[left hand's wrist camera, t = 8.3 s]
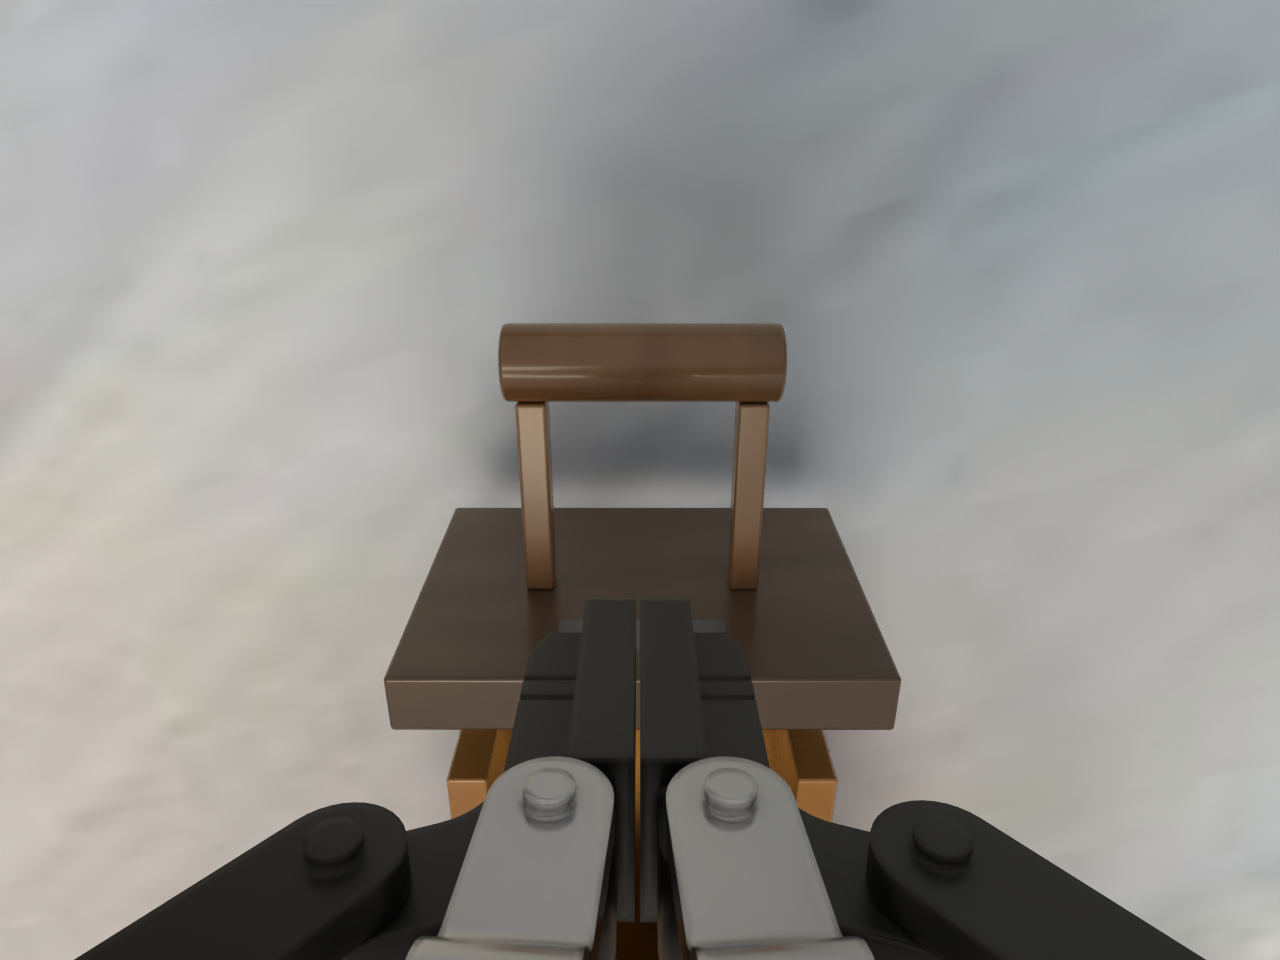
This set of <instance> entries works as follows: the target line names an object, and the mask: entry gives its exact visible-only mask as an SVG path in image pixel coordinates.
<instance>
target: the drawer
mask: <svg viewBox="0 0 1280 960" xmlns="http://www.w3.org/2000/svg"><path fill="white" fill-rule="evenodd" d="M498 367H499V381H500V388H501V392H502V395H503V398H504V400H506V401H508V402H517V404H516V407H515V410H516V426H517V442H518V458H519V474H520V490H521V506H522V508H457V509H456V510H455V512H454V514H453V517H452V519H451V522H450V524H449V526H448V529H447V531H446V533H445V536H444V538H443V540H442V543H441V545H440V548H439V550H438V552H437V555H436V557H435V559H434V562H433V564H432V566H431V569H430V571H429V574H428V576H427V578H426V581H425V583H424V585H423V588H422V590H421V593H420V595H419V597H418V600H417V602H416V604H415V607H414V609H413V611H412V614H411V616H410V619H409V621H408V623H407V626H406V628H405V630H404V633H403V635H402V637H401V640H400V642H399V645H398V647H397V649H396V652H395V654H394V656H393V659H392V661H391V663H390V666H389V668H388V671H387V673H386V675H385V678H384V685H385V691H386V698H387V705H388V711H389V718H390V725H391V728H392V729H399V730H460V734H459V737H458V741H457V744H456V748H455V752H454V755H453V759H452V763H451V766H450V770H449V774H448V777H447V787H448V795H449V803H450V812H451V819H453V818H456V817H458V816H461V815H463V814H465V813H467V812H468V811H470V810H472V809H474V808H475V807H477V806H478V805H479V804H481V803H482V802H483V801H485V798H486V795H487V793H488V791H489V789H490V787H491V785H492V784H493V783H494V781H495V780H496V779H497V778H498V777H499V776H500V775H502V774H503V772H504V768H505V763H506V758H507V754H508V749H509V745H510V740H511V735H512V731H513V726H514V721H515V717H516V712H517V707H518V703H519V700H520V694H521V689H522V684H523V680H524V675H525V670H526V666H527V661H528V657H529V652H530V651H531V650H532V649H533V648H534V647H535V646H536V645H537V644H538V643H539V642H540V641H541V640H542V639H543V638H544V637H545V636H546V635H547V633H582V625H583V616H584V608H585V600H586V598H636V770H635V908H634V922H617V935H616V960H659V954H658V927H657V922H640V598H690V603H691V612H692V621H693V630H694V633H728V634H729V635H730V636H731V637H732V638H733V639H734V640H735V642H736V643H737V644H738V645H739V646H740V647H741V648H742V649H743V650H744V651H745V652H746V655H747V660H748V664H749V669H750V674H751V681H752V684H753V689H754V693H755V700H756V703H757V708H758V713H759V718H760V722H761V727H762V732H763V737H764V742H765V746H766V751H767V756H768V761H769V766H770V769H771V770H773V771H774V772H776V773H777V774H778V775H780V776H781V777H782V778H783V779H784V780H785V781H786V783H787V784H788V785H789V787H790V789H791V791H792V793H793V795H794V798H795V801H796V804H797V807H798V808H800V809H801V810H803V811H805V812H807V813H809V814H810V815H813V816H815V817H817V818H820V819H822V820H825V821H828V822H832V821H833V812H834V804H835V796H836V788H837V777H836V773H835V770H834V766H833V763H832V759H831V755H830V752H829V748H828V745H827V741H826V738H825V734H824V730H891V729H893V728H894V723H895V717H896V710H897V704H898V697H899V691H900V684H901V678H900V676H899V673H898V671H897V669H896V666H895V664H894V662H893V659H892V657H891V655H890V652H889V650H888V648H887V645H886V643H885V641H884V638H883V636H882V634H881V632H880V629H879V627H878V625H877V622H876V620H875V618H874V615H873V613H872V611H871V608H870V606H869V604H868V601H867V599H866V597H865V594H864V592H863V590H862V587H861V585H860V583H859V580H858V578H857V576H856V573H855V571H854V569H853V566H852V564H851V562H850V559H849V557H848V555H847V552H846V550H845V548H844V546H843V543H842V541H841V539H840V536H839V534H838V532H837V529H836V527H835V525H834V522H833V520H832V518H831V515H830V513H829V511H828V509H826V508H763V501H764V486H765V471H766V456H767V441H768V426H769V410H770V406H769V404H768V402H777V401H780V400H781V398H782V396H783V393H784V389H785V382H786V371H787V345H786V336H785V332H784V329H783V326H782V325H780V324H550V323H507V324H505V325H503V326H502V329H501V332H500V337H499V349H498ZM549 402H736V411H735V432H734V452H733V473H732V493H731V508H554V506H553V484H552V462H551V440H550V418H549Z"/></svg>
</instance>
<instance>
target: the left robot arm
mask: <svg viewBox="0 0 1280 960" xmlns="http://www.w3.org/2000/svg"><path fill="white" fill-rule="evenodd" d="M635 770H636V598H586V600H585V608H584V616H583V625H582V633H547V635H546V636H545V637H544V638H543V639H542V640H541V641H540V642H539V643H538V644H537V645H536V646H535V647H534V648H533V649H532V650H531V651H530V652H529V657H528V661H527V666H526V670H525V675H524V680H523V684H522V689H521V694H520V700H519V703H518V707H517V712H516V717H515V721H514V726H513V731H512V735H511V740H510V745H509V749H508V754H507V758H506V763H505V768H504V772H503V774H502V775H500V776H499V777H498V778H497V779H496V780H495V781H494V783H493V784H492V785H491V787H490V789H489V791H488V793H487V795H486V798H485V801H483V802H482V803H481V804H479V805H478V806H477V807H475V808H474V809H472V810H470V811H468V812H467V813H465V814H463V815H461V816H458V817H456V818H453V819H451V820H448V821H444V822H441V823H437V824H433V825H429V826H425V827H421V828H417V829H413V830H409V831H406V830H405V827H404V825H403V823H402V822H401V820H400V819H399V817H397V816H396V815H395V814H394V813H393V812H391V811H390V810H388V809H386V808H384V807H381V806H378V805H375V804H369V803H357V802H353V803H342V804H336V805H331V806H328V807H324V808H321V809H318V810H316V811H313V812H311V813H309V814H307V815H305V816H303V817H301V818H299V819H298V820H296V821H294V822H293V823H291V824H289V825H288V826H286V827H285V828H283V829H281V830H280V831H278V832H277V833H275V834H274V835H272V836H270V837H269V838H267V839H266V840H264V841H262V842H261V843H259V844H258V845H256V846H254V847H253V848H251V849H250V850H248V851H246V852H245V853H243V854H242V855H240V856H239V857H237V858H235V859H234V860H232V861H231V862H229V863H227V864H226V865H224V866H223V867H221V868H219V869H218V870H216V871H215V872H213V873H211V874H210V875H208V876H207V877H205V878H204V879H202V880H200V881H199V882H197V883H196V884H194V885H192V886H191V887H189V888H188V889H186V890H184V891H183V892H181V893H180V894H178V895H176V896H175V897H173V898H172V899H170V900H169V901H167V902H165V903H164V904H162V905H161V906H159V907H157V908H156V909H154V910H153V911H151V912H149V913H148V914H146V915H145V916H143V917H141V918H140V919H138V920H137V921H135V922H134V923H132V924H130V925H129V926H127V927H126V928H124V929H122V930H121V931H119V932H118V933H116V934H114V935H113V936H111V937H110V938H108V939H106V940H105V941H103V942H102V943H100V944H99V945H97V946H95V947H94V948H92V949H91V950H89V951H87V952H86V953H84V954H83V955H81V956H79V957H78V958H76V959H75V960H616V935H617V922H634V908H635ZM640 922H657V927H658V954H659V960H1205V959H1204V958H1202V957H1201V956H1199V955H1197V954H1196V953H1194V952H1193V951H1191V950H1189V949H1188V948H1186V947H1185V946H1183V945H1181V944H1180V943H1178V942H1177V941H1175V940H1174V939H1172V938H1170V937H1169V936H1167V935H1166V934H1164V933H1162V932H1161V931H1159V930H1158V929H1156V928H1154V927H1153V926H1151V925H1150V924H1148V923H1146V922H1145V921H1143V920H1142V919H1140V918H1139V917H1137V916H1135V915H1134V914H1132V913H1131V912H1129V911H1127V910H1126V909H1124V908H1123V907H1121V906H1119V905H1118V904H1116V903H1115V902H1113V901H1111V900H1110V899H1108V898H1107V897H1105V896H1104V895H1102V894H1100V893H1099V892H1097V891H1096V890H1094V889H1092V888H1091V887H1089V886H1088V885H1086V884H1084V883H1083V882H1081V881H1080V880H1078V879H1076V878H1075V877H1073V876H1072V875H1070V874H1069V873H1067V872H1065V871H1064V870H1062V869H1061V868H1059V867H1057V866H1056V865H1054V864H1053V863H1051V862H1049V861H1048V860H1046V859H1045V858H1043V857H1041V856H1040V855H1038V854H1037V853H1035V852H1034V851H1032V850H1030V849H1029V848H1027V847H1026V846H1024V845H1022V844H1021V843H1019V842H1018V841H1016V840H1014V839H1013V838H1011V837H1010V836H1008V835H1006V834H1005V833H1003V832H1002V831H1000V830H999V829H997V828H995V827H994V826H992V825H991V824H989V823H987V822H986V821H984V820H983V819H981V818H979V817H977V816H976V815H974V814H972V813H970V812H968V811H966V810H963V809H961V808H959V807H956V806H952V805H949V804H945V803H940V802H935V801H924V800H921V801H908V802H902V803H899V804H896V805H893V806H891V807H889V808H887V809H886V810H884V811H883V812H882V813H881V814H880V815H878V817H877V818H876V820H875V821H874V822H873V825H872V828H871V832H868V831H864V830H860V829H855V828H851V827H847V826H843V825H839V824H835V823H832V822H828V821H825V820H822V819H820V818H817V817H815V816H813V815H810V814H809V813H807V812H805V811H803V810H801V809H800V808H798V807H797V804H796V801H795V798H794V795H793V793H792V791H791V789H790V787H789V785H788V784H787V783H786V781H785V780H784V779H783V778H782V777H781V776H780V775H778V774H777V773H776V772H774V771H773V770H771V769H770V766H769V761H768V756H767V751H766V746H765V742H764V737H763V732H762V727H761V722H760V718H759V713H758V708H757V703H756V700H755V693H754V689H753V684H752V681H751V674H750V669H749V664H748V660H747V655H746V652H745V651H744V650H743V649H742V648H741V647H740V646H739V645H738V644H737V643H736V642H735V640H734V639H733V638H732V637H731V636H730V635H729V634H728V633H694V630H693V621H692V612H691V603H690V598H640Z"/></svg>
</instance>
